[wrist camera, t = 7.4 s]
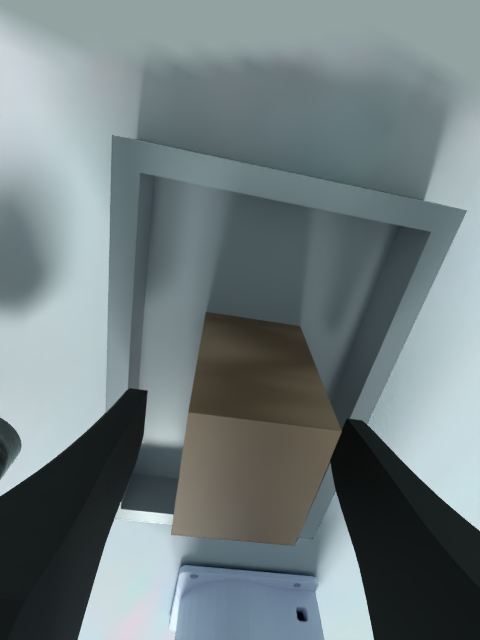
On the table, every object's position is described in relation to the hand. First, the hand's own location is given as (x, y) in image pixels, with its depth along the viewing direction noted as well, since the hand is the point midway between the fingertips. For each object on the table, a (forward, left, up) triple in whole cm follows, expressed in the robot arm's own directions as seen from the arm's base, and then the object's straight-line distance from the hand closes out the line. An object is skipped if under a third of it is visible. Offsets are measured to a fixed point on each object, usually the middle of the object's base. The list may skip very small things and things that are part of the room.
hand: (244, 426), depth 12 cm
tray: (0, 0, -4) cm, 4 cm away
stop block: (0, 0, -3) cm, 3 cm away
